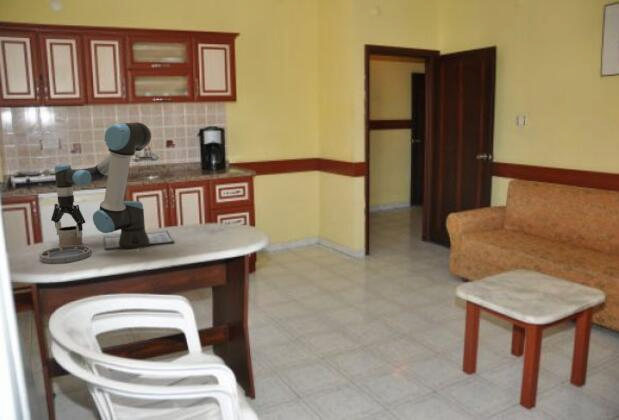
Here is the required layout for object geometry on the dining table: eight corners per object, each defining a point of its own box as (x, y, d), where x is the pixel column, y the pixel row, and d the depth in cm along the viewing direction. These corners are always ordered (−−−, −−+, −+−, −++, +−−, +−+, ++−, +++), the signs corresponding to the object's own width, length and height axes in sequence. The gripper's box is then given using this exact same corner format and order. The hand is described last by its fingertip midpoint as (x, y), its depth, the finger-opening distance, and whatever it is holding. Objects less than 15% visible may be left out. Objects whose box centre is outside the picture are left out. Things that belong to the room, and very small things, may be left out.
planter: (74, 249, 262) (72, 231, 260) (55, 248, 264) (52, 230, 262) (87, 243, 272) (85, 226, 270) (68, 243, 274) (66, 225, 272)
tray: (101, 252, 255) (100, 247, 254) (65, 265, 235) (65, 260, 234) (66, 248, 263) (66, 243, 262) (29, 261, 243) (29, 255, 242)
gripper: (90, 195, 262) (94, 236, 266) (52, 192, 270) (57, 231, 275) (79, 197, 255) (83, 239, 259) (40, 194, 264) (45, 235, 268)
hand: (69, 235), depth 267 cm, fingers open, 13 cm apart
